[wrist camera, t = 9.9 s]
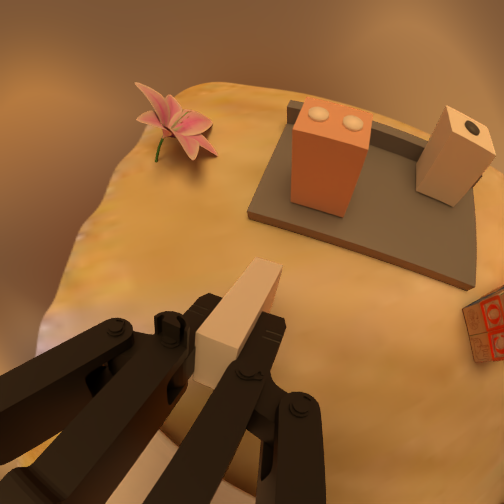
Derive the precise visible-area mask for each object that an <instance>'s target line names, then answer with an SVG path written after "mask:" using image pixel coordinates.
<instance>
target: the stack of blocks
mask: <svg viewBox="0 0 504 504" xmlns="http://www.w3.org/2000/svg"><path fill="white" fill-rule="evenodd" d="M463 313H464V316H465V320H466V324H467V328H468V332H469V336H470V337H469V338H470V342H471V347H472V352H473V357H474V361H475V362H486V361H500V360H504V285H503V286H501V287H499V288H497V289H495V290H493V291H491V292H490V293H488V294H486V295H485V296H483V297H481V298H480V299H479V300H477V301H475V302H473V303H471V304H470V305H468V306H466V307H464V308H463Z"/></svg>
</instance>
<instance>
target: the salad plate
mask: <svg viewBox="0 0 504 504" xmlns="http://www.w3.org/2000/svg"><path fill="white" fill-rule="evenodd" d="M178 448H179V447H178V446H177V445H176V444H175V443H174V442H173V441H171V440H170V439H169V438H168V437H167V436H166V435H165V434H164V433H163V432H162V431H161V430H160V429H159V430H158V431H157V433H156V434H155V436H154V437H153V438H152V440H151V441H150V443H149V444H148V445H147V447H146V448H145V450H144V451H143V452H142V454H141V455H140V457H139V458H138V459H137V461H136V462H135V464H134V465H133V466H132V468H131V469H130V471H129V472H128V473H127V475H126V476H125V477H124V479H123V480H122V482H121V483H120V484H119V486H118V487H117V488H116V490H115V491H114V492H113V494H112V495H111V496H110V498H109V499H108V500H107V502H106V503H105V504H142V503H143V501H144V500H145V498H146V497H147V496H148V494H149V493H150V491H151V490H152V488H153V487H154V485H155V484H156V482H157V481H158V479H159V478H160V476H161V475H162V473H163V471H164V470H165V468H166V467H167V465H168V464H169V462H170V461H171V459H172V458H173V456H174V454H175V453H176V451H177V450H178ZM255 502H256V497H254V496H252V495H250V494H248V493H246V492H244V491H243V490H241V489H239V488H237V487H235V486H234V485H232V484H230V483H229V482H227V481H225V480H224V479H222V481H221V483H220V485H219V487H218V489H217V491H216V493H215V495H214V497H213V499H212V501H211V503H210V504H255Z"/></svg>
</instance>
